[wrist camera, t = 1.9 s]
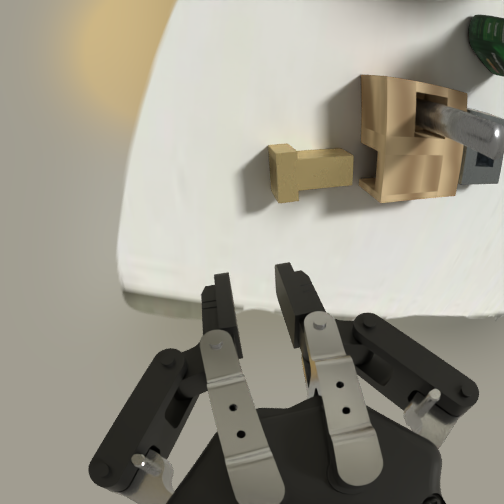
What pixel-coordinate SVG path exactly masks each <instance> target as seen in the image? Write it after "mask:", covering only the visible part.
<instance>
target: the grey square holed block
mask: <svg viewBox="0 0 504 504" xmlns="http://www.w3.org/2000/svg"><path fill="white" fill-rule="evenodd" d="M467 112H469V113H472V114H475V115H478V116H480V117H483V118H486V119H489V120H491V121H494V122H496V123H499V124H501V125H502V126H503V127H504V119H502V118H500V117H497V116H494V115H492V114H489V113H485V112H482V111H478V110H474V109H470V108H467ZM503 154H504V153H503ZM502 160H503V155H502V156H501V157H500V158H499V159H498V160H493V159H491V158H489V157H487V156H485V155H483V154H481V153H479V152H477V151H475V150H473V149H471V148H469V147H467V146H465V145H464V146H463V154H462V161H461V167H460V173H459V179H458V183H459V184H460V185H468V184H498V181H499V176H500V171H501V166H502Z"/></svg>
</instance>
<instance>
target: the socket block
mask: <svg viewBox="0 0 504 504" xmlns="http://www.w3.org/2000/svg"><path fill="white" fill-rule="evenodd" d="M416 98H418V99H423V100H427V101H431V102H435V103H438V104H442V105H446V106H449V107H453V108H456V109H459V110H462V111H466V112H467V93H464V92H460V91H457V90H453V89H449V88H445V87H441V86H437V85H432V84H427V83H423V82H418V81H412V80H407V79H401V78H394V77H387V76H375V75H361V143H363V144H365V145H367V146H369V147H371V148H373V149H375V150H377V151H378V156H377V170H376V178H364V179H359V186H360V187H361V188H363V189H364V190H365V191H366V192H368V193H369V194H370V195H371V196H373V197H374V198H375V199H376V200H377V201H378V202H380V203H386V202H396V201H405V200H415V199H425V198H436V197H447V196H455V194H456V189H457V184H458V179H459V173H460V167H461V161H462V154H463V146H464V145H462V144H460V143H458V142H456V141H453V140H451V139H449V138H446V137H444V136H442V135H439V134H437V133H434V132H431V131H429V130H426V129H424V128H421V127H418V126H415V116H416Z"/></svg>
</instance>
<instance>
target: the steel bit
mask: <svg viewBox="0 0 504 504" xmlns="http://www.w3.org/2000/svg"><path fill="white" fill-rule="evenodd" d="M415 126H418V127H421V128H424V129H426V130H429V131H431V132H434V133H437V134H439V135H442V136H444V137H446V138H449V139H451V140H453V141H456V142H458V143H460V144H462V145H465V146H467V147H469V148H471V149H473V150H475V151H477V152H479V153H481V154H483V155H485V156H487V157H489V158H491V159H493V160H498V159H499V158H500V157H501V156H502V155H503V153H504V127H503V126H502V125H501V124H499V123H496V122H494V121H491V120H489V119H486V118H483V117H480V116H478V115H475V114H472V113H469V112H466V111H462V110H459V109H456V108H453V107H449V106H446V105H442V104H438V103H435V102H431V101H427V100H423V99H418V98H416V116H415Z"/></svg>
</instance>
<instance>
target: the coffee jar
mask: <svg viewBox="0 0 504 504" xmlns="http://www.w3.org/2000/svg"><path fill="white" fill-rule="evenodd" d="M469 39H470V45H471V47H472V49H473V50H474V52H475V53H476V55H477V56H478V57H479V59H480V60H481V61H482V63H483V64H484V65H485V66H486V67H487V68H488V69H489V70H490V71H491V72H492V73H493V74H495V75H499V76H504V18H499V17H494V16H487V15H475V16H474V17H473V18H472V20H471V23H470V25H469Z"/></svg>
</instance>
